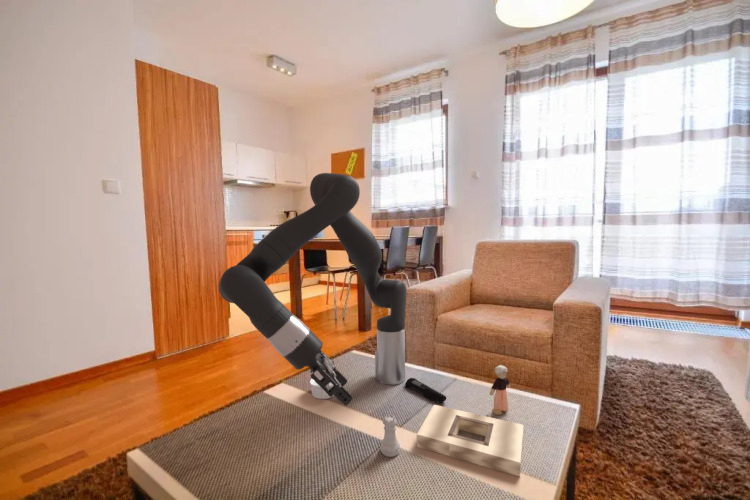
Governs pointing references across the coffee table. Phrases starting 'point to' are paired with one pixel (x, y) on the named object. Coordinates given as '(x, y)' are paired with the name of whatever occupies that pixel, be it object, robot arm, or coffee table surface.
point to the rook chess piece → (390, 437)
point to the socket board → (494, 453)
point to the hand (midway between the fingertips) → (346, 392)
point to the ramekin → (319, 390)
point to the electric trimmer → (425, 390)
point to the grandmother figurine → (500, 390)
